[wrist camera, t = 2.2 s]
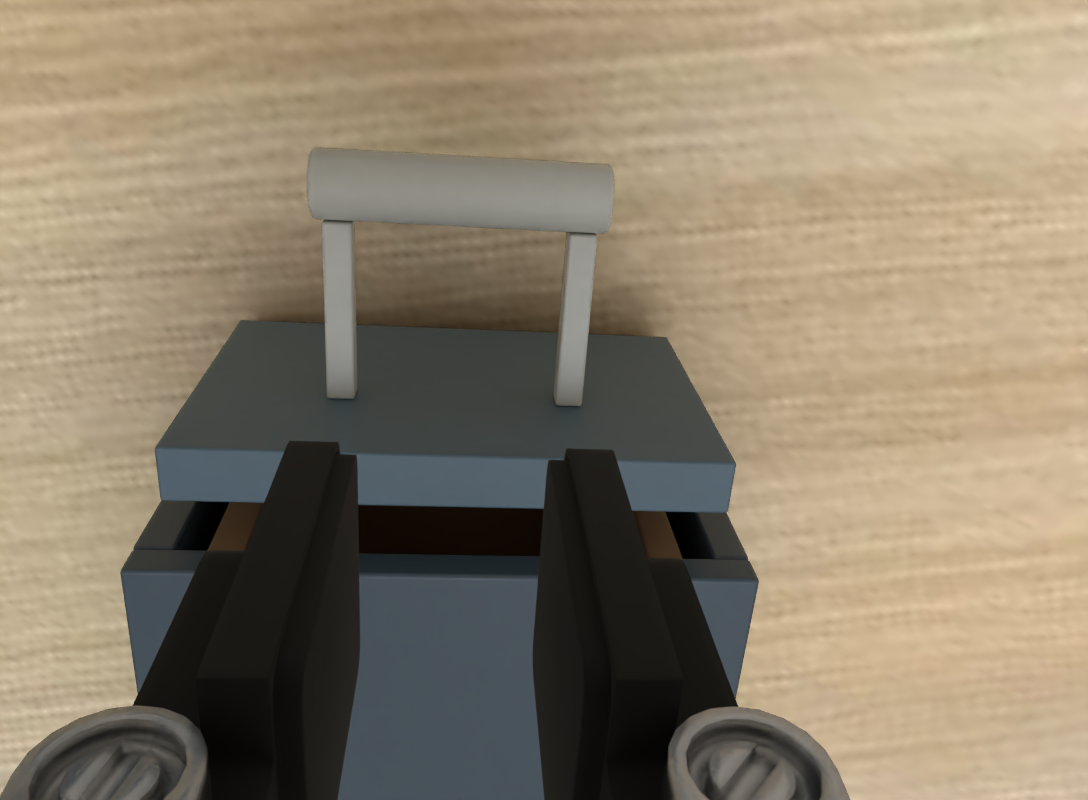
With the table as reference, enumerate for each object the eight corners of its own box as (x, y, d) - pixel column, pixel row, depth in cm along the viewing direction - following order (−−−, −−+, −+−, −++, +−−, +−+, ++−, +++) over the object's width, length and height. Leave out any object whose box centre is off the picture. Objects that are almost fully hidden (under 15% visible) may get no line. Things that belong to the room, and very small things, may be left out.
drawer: (225, 108, 22) (120, 164, 15) (693, 138, 23) (783, 201, 16) (268, 715, 30) (209, 926, 23) (617, 715, 31) (657, 917, 24)
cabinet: (230, 381, 26) (117, 571, 18) (671, 396, 27) (761, 580, 19) (260, 769, 32) (186, 1047, 24) (620, 767, 33) (670, 1030, 25)
